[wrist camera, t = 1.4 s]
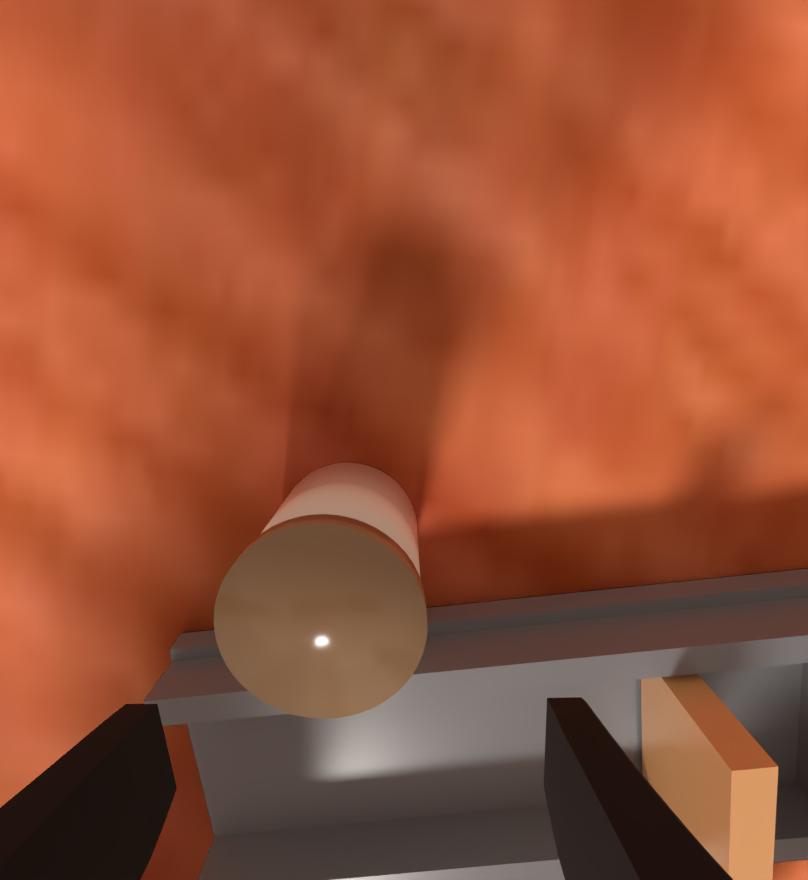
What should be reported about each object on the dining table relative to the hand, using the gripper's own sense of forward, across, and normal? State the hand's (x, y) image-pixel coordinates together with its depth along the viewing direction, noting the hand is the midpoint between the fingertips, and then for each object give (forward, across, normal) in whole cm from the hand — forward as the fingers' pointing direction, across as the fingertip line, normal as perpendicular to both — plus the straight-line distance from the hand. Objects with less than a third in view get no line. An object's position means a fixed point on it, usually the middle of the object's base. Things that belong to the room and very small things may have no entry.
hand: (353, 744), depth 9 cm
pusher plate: (+8, -10, +8) cm, 15 cm away
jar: (+9, +1, 0) cm, 9 cm away
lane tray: (+9, -4, +8) cm, 13 cm away
